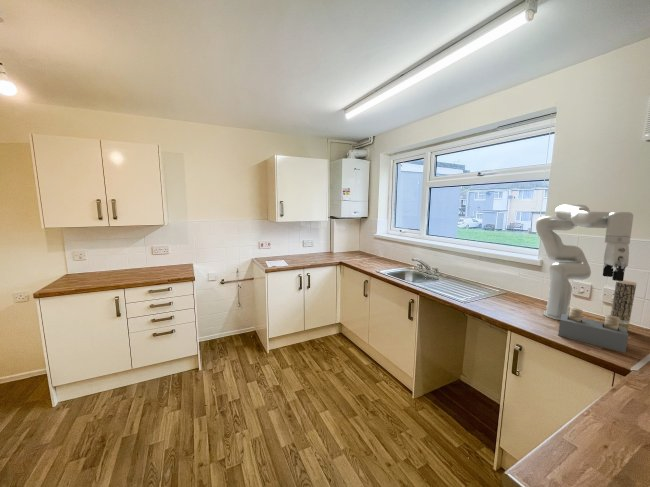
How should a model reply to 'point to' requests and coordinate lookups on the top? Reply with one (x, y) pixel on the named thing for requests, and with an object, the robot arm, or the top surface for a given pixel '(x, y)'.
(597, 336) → the block
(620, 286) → the bark textured peg
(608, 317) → the peg outer
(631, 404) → the top surface
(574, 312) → the peg inner
